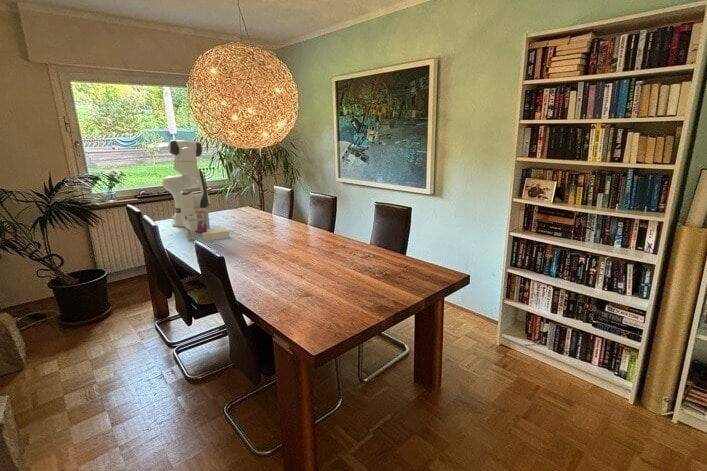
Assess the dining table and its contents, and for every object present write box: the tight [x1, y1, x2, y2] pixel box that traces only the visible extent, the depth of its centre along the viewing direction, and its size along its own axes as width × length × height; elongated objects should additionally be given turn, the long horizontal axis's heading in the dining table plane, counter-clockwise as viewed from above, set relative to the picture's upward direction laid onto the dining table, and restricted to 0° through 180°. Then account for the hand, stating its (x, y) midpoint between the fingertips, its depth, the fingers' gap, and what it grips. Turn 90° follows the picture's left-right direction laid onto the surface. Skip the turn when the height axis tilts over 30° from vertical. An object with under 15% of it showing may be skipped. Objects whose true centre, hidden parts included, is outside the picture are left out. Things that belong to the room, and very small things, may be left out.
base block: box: [207, 226, 230, 241], centre depth 254 cm, size 12×12×5 cm
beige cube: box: [201, 232, 213, 242], centre depth 245 cm, size 5×5×5 cm
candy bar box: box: [195, 208, 211, 233], centre depth 263 cm, size 11×5×16 cm, turn 84°
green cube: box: [185, 229, 197, 240], centre depth 245 cm, size 5×5×5 cm
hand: (190, 234), depth 245 cm, fingers closed on green cube, 5 cm apart
